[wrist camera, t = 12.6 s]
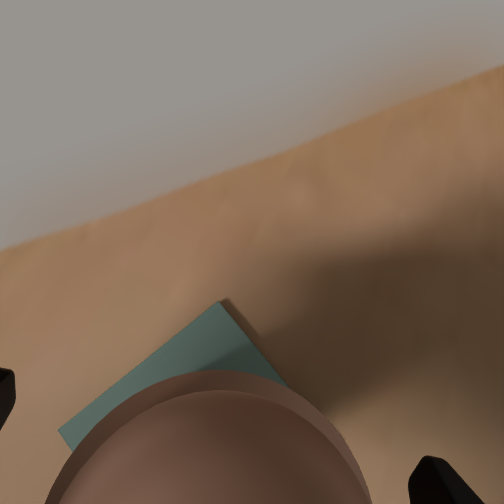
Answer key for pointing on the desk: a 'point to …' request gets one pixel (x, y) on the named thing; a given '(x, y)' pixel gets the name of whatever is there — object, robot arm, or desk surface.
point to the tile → (179, 366)
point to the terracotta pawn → (212, 448)
